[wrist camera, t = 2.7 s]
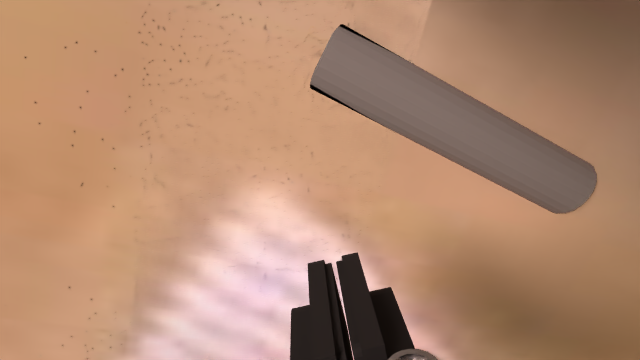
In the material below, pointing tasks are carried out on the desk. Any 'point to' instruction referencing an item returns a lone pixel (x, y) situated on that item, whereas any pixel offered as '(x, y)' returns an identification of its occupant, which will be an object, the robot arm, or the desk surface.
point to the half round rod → (450, 122)
